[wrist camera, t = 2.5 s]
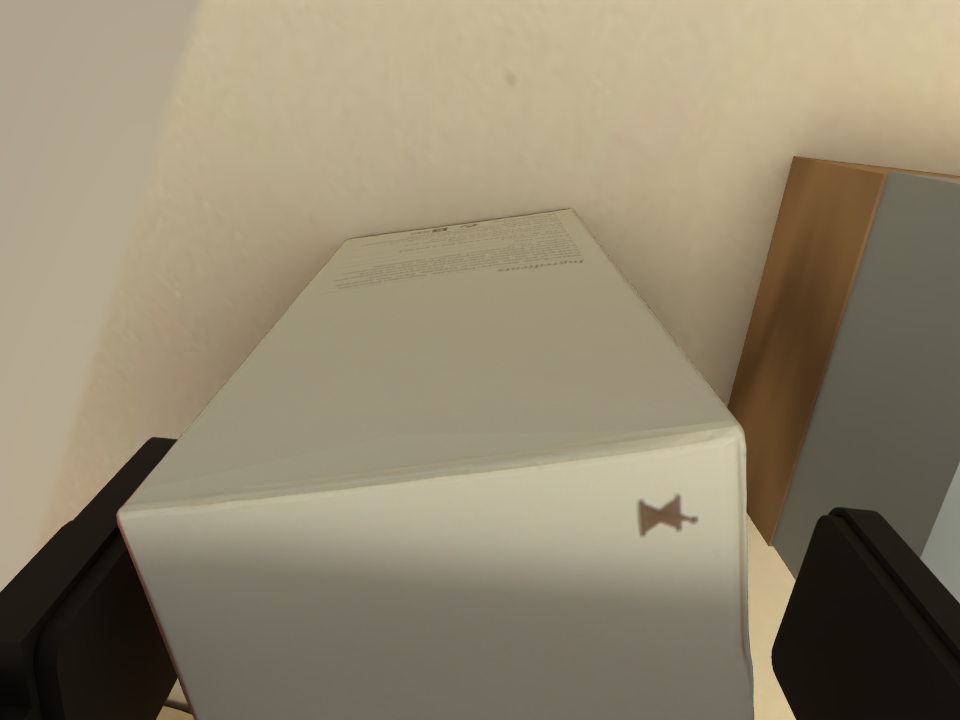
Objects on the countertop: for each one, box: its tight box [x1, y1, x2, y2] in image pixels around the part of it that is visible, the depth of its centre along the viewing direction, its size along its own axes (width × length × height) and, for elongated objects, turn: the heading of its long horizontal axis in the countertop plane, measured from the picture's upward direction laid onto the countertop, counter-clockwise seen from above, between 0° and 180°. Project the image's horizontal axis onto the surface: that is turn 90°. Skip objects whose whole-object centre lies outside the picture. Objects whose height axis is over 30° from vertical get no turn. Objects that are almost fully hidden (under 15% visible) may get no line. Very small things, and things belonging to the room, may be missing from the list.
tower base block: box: [728, 156, 960, 546], centre depth 18 cm, size 9×9×4 cm
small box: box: [116, 209, 754, 720], centre depth 14 cm, size 8×6×13 cm
